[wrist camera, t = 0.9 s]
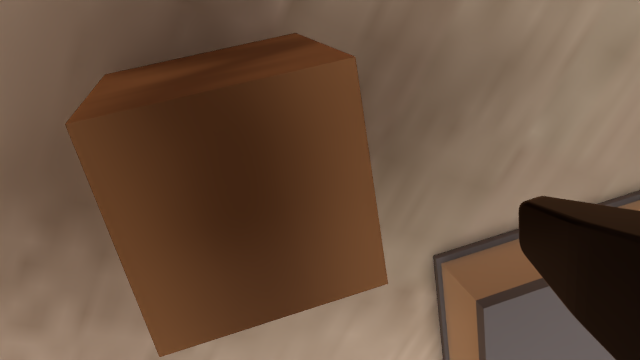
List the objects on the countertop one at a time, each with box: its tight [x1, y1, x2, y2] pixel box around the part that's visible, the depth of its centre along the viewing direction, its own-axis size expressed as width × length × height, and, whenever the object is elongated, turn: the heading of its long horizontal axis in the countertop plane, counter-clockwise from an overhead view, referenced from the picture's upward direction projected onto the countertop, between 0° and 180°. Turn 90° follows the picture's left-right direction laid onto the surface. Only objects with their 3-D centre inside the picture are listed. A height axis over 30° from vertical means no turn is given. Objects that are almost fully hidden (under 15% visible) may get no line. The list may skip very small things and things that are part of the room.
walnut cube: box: [65, 33, 388, 357], centre depth 14 cm, size 6×6×6 cm
